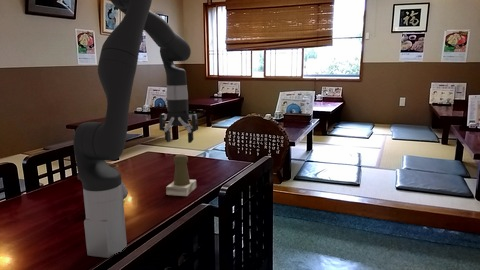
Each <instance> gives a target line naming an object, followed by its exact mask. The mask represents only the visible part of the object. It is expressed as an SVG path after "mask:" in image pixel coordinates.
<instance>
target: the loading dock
mask: <svg viewBox="0 0 480 270" xmlns="http://www.w3.org/2000/svg"><path fill="white" fill-rule="evenodd" d="M189 180H190V184H188V185H185V186H176V185H174V180H173V181H172V182H171V183H169V184H168V185H167V186H166V187H165V190H166V192H165V193H166V196H167V195H168V196H179V197H180V196H181V197H188V196H189V195H190V194H191V193H192V192H193V191H195V189H197V179H190V178H189Z"/></svg>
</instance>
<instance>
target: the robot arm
mask: <svg viewBox="0 0 480 270" xmlns="http://www.w3.org/2000/svg"><path fill="white" fill-rule="evenodd" d="M109 1H110V2H111V3H112V5H114V7H115V8H117V10H119V11H120V12H122V13H123V14H124V16H123V18H122V19H121V21H120V22H119V23H118V25H117V26H116V27H115V28H114V29H113V30H112V32H111V33H110V34H109V35H108V36H107V37H106V39H105V41H104V42H103V44H102V47H101V51H100V54H99V59H98V64H97V75H98V78H99V79H98V80H99V81H100V84H101V87H102V90H103V91H104V94H105V97H106V111H105V118H104V122H99V121H87V122H83V123H81V124H78V126H77V128H76V129H75V131H74V135H73V151H74V157H75V163H76V170H77V177H78V178H79V179H80V181H81V183H82V191H83V202H84V211H85V212H84V213H85V219H84V221H83V225H84V234H85V245H86V253H87V256H88V257H89V256H91V257H99V258H110V257H112V256H114V254H115V255H117V254H119V253H118V252H120V253H121V252H123V251H124V250H125V249H126V248H127V247H128V244H127V243H128V242H127V232H126V229H127V228H126V219H125V209H124V208H125V207H124V200H123V192H122V182H123V180H122V174H121V173H120V171H119V170H118V169H117V170H115V169H113V168H112V167H110V166H109V165H108V164H109V163H107V162H106V161H116V160H117V159H119V158H120V157H121V155H122V154H123V152H124V150H125V148H126V143H127V142H126V141H127V135H128V123H129V122H128V121H129V113H130V112H129V111H130V104H131V98H132V90H133V86H134V82H135V80H134V79H135V75H136V72H137V66H138V60H139V55H140V54H139V53H140V48H141V43H142V39H143V34H144V31H145V33H146V34H147V35H148V36H149V37H150V38H151V40H153V42H154V43H155V44H156V45H157V47H159V54H160V59H161V61H162V64H163V68H164V72H165V76H166V79H165V80H166V105H167V106H166V108H167V113H164V112H163V113H160V114H159V115H158V117H159V119H158V120H159V121H158V122H159V124H158V125H159V126H158V127H159V130H160V131H163V132H164V140H165V141H166V143H169V142H171V140H172V139H171V138H172V137H171V131H170V130H171V129H172V127H177V126H178V127H183V128H185V129H186V131H187V142H188V144H190V143H192V142H193V141H194V133H195V132H196V131H198V130H199V122H198V121H199V120H198V114H197V113H194V114H190V113H189V93H188V85H187V82H188V81H187V71H186V70H185V69H184V68H180V67H177V66H176V64H175V62H185V61H187V60H189V58H190V57H191V47H190V44H189V42H187V40H186V39H184V38H183V37H182V36H181V35H179V34H178V33H177V32H174V30H173V29H172V27H171V26H170V24H168V22H167V21H166V20H165V18H163V17H161V16H160V15H158V14H157V13H155V12H154V11H152V10H150V9H151V6H152V2H153V0H109ZM189 119H190V120H191V123H190V122H189ZM166 120H168V123H167V124H166ZM125 247H126V248H125ZM124 248H125V249H124ZM123 249H124V250H123ZM122 250H123V251H122ZM116 253H117V254H116Z"/></svg>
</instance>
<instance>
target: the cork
mask: <svg viewBox="0 0 480 270" xmlns="http://www.w3.org/2000/svg"><path fill="white" fill-rule="evenodd" d="M188 161H189V158H188V155H186V154H183V153H181V154H176V155H175V156H173V163H174V165H175V166H174V176H173V177H174V178H173V181H174V185H176V186H185V185H188V184H190V180H189V179H190V175H189V170H188V165H187V164H188Z"/></svg>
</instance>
